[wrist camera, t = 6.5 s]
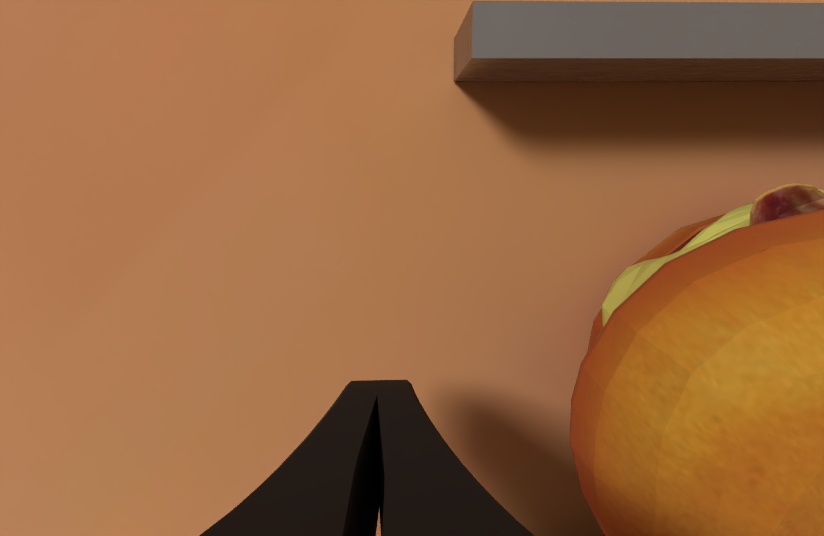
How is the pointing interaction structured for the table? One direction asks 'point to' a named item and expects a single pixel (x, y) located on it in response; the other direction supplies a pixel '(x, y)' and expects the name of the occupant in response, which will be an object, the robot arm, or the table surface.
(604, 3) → the rack
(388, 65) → the table surface
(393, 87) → the table surface
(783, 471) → the cheeseburger
